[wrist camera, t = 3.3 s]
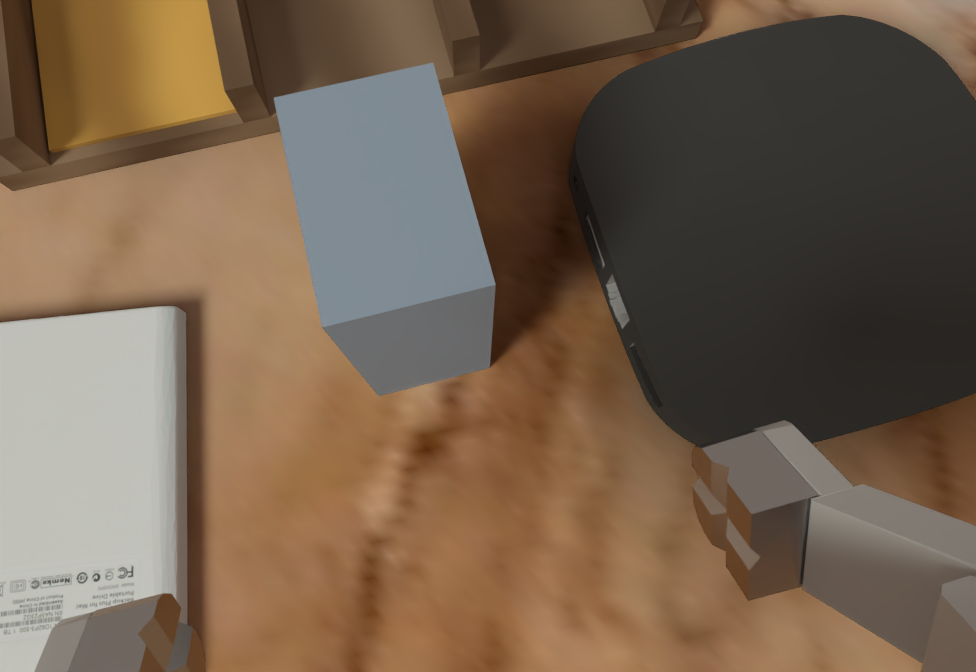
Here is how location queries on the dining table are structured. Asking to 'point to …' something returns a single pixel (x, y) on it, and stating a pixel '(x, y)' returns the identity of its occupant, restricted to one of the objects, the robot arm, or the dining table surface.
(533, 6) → the rack
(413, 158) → the grey rectangular block
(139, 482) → the external hard drive
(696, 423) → the media streaming box
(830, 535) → the robot arm
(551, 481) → the dining table surface
